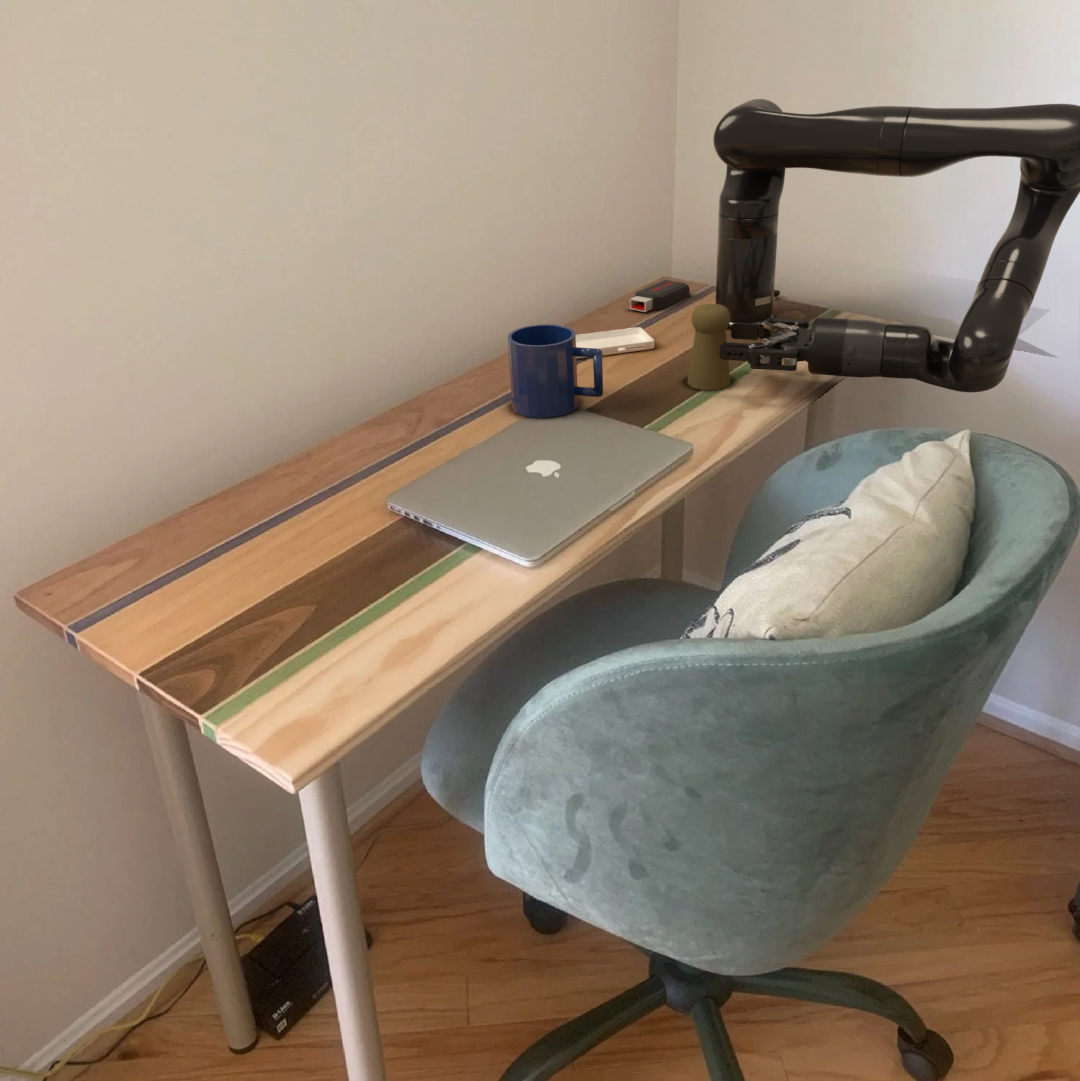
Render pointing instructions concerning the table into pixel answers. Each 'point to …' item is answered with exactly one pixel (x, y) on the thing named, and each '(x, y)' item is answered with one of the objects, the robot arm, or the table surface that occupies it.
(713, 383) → the olive pawn figure
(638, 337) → the phone case
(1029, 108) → the robot arm
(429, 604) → the table surface
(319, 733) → the table surface
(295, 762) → the table surface
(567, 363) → the mug
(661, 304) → the usb drive
